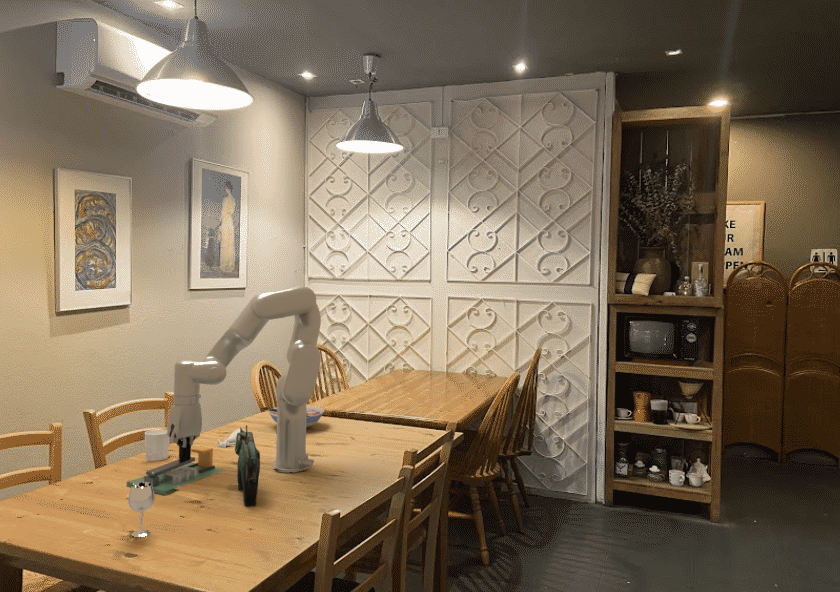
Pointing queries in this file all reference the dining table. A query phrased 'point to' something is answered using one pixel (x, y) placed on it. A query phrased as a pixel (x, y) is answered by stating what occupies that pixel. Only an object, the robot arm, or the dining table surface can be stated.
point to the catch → (204, 456)
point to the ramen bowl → (311, 414)
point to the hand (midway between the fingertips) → (184, 458)
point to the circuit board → (169, 488)
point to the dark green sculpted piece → (247, 466)
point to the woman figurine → (229, 439)
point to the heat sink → (173, 476)
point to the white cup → (156, 445)
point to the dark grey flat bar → (169, 466)
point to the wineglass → (141, 503)
